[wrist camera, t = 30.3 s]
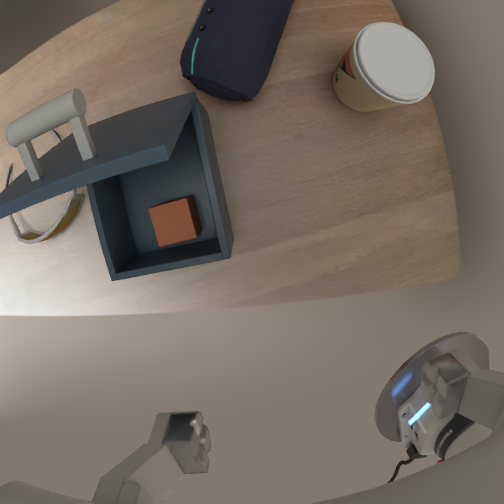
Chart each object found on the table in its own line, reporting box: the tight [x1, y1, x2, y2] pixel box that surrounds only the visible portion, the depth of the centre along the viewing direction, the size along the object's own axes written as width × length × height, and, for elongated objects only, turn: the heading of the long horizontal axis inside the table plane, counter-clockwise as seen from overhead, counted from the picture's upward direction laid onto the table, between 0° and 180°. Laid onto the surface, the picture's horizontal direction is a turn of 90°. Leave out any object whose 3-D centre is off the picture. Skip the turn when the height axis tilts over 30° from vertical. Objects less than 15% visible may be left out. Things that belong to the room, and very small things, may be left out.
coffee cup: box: [333, 22, 435, 112], centre depth 29 cm, size 9×9×12 cm
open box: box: [86, 97, 234, 281], centre depth 34 cm, size 17×14×9 cm
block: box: [149, 195, 203, 247], centre depth 36 cm, size 5×5×5 cm
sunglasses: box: [5, 129, 83, 244], centre depth 36 cm, size 14×15×5 cm
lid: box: [0, 89, 197, 219], centre depth 19 cm, size 17×14×5 cm
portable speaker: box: [180, 0, 294, 102], centre depth 28 cm, size 25×10×10 cm, turn 164°
